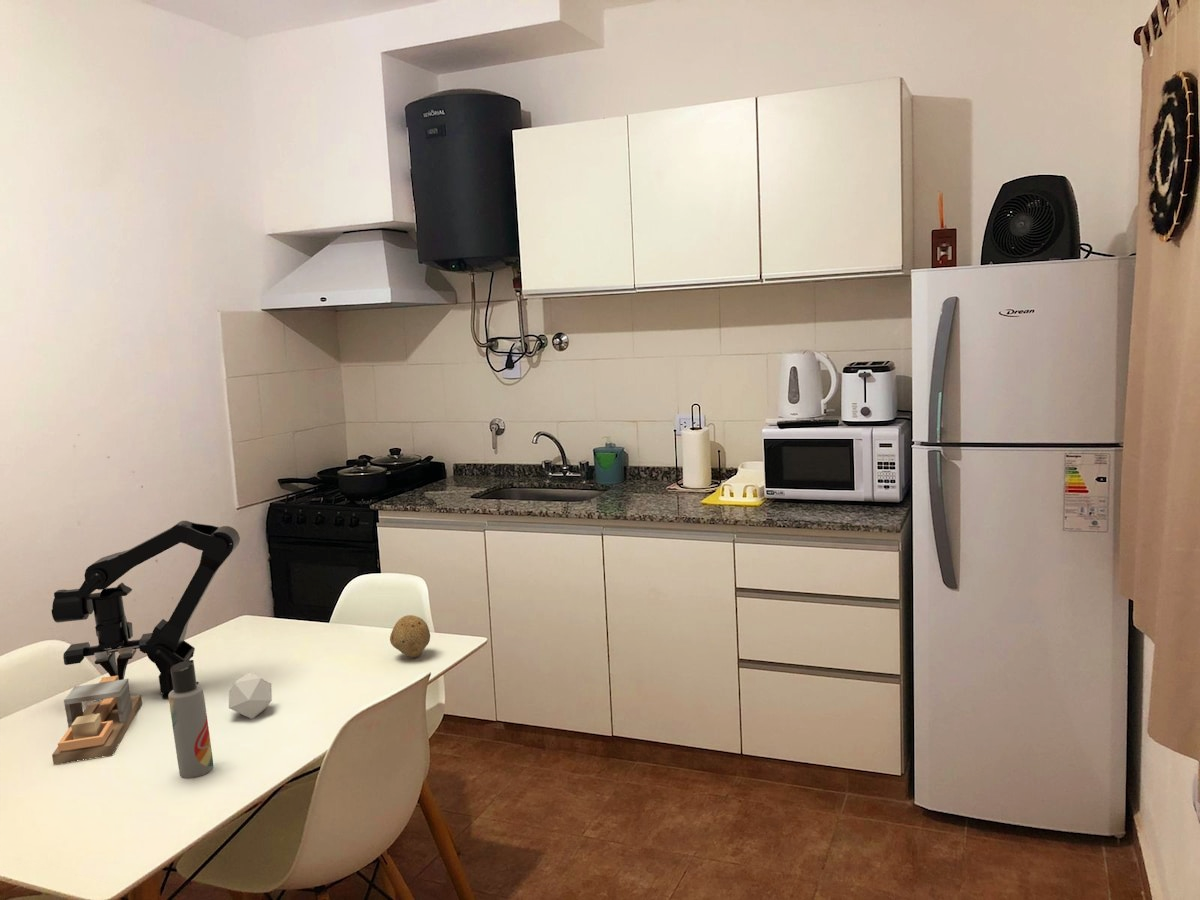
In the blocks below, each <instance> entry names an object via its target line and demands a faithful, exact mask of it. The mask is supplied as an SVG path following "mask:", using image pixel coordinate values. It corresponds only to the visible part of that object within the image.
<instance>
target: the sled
mask: <svg viewBox="0 0 1200 900" xmlns="http://www.w3.org/2000/svg"><path fill="white" fill-rule="evenodd" d="M117 680H119V677H118V675H117V676H110V675H109V676H106V677H105V676H104V677H102V678H101V680H100V681H98V683H103V682H110V681H117ZM100 701H102V702H101V703H100V705H99V706H98V708H97V709H96V711H95V712H94V714H99V713H100V716H101V723H102V729H103V730H102V732H101V733H100V735H99V736H94V737H87V738H81V739H75V740H72V738H73V733H72V727H70V728H68V729H67V730H66V731H65V733H64V734H63V736H62V737H61V738H60V740H59V742H57V747H58V748H59V751H65V750H71V749H77V748H83V747H90V746H96V745H102V744H104V743H105V741H106V740H107V738H108V736H109V735H110V733H111V732H112V730H113V728H114V725H113V720H112V721H105V719H106V717H107V716H108V714H109V713H110V711H111V710H112V708H113V707H114V705H115V704H117V701H116V697H113V698H107V699H100ZM104 721H105V722H104Z"/></svg>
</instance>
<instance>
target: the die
mask: <svg viewBox="0 0 1200 900" xmlns="http://www.w3.org/2000/svg"><path fill="white" fill-rule="evenodd" d="M272 692H273V691H272V683H271V682H269V681H268V680H265V679H264V678H261V677H260V676H257V675H254V674H253V673H250V672H248V673H246V674H245V675H243V676H242V677H240V678H239V679H238V680H237V679H236V681H235V682H233V684H232V686H231V687H230V688H229V691H228V709H230V710H232V711H234V712H236V713H238V714H241V715H243V716H244V717H247V718H249V719H251V720H253V719H255V717H257V716H258V715H259V714H260V713H262V712H263V711H265V710H266V709H267V708H268V706H269V705H270V704H271V702H272V701H273V694H272Z"/></svg>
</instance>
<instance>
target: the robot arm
mask: <svg viewBox="0 0 1200 900" xmlns="http://www.w3.org/2000/svg"><path fill="white" fill-rule="evenodd" d="M240 541H241V538H240V535H239V532H238V531H237V530H236V529H235V527H232V526H228V525H223V526H215V525H210V524H203V523H196V522H191V521H188V520H180V521H178V522H177V523H176V524H174V525H173V526H172V527H170V528H168V529H166V530H164V531H162V532H160V533H157V534H156V535H155V536H153V537H150V538H149V539H147V540H145V541H143V542H141V543H139V544H137V545H135V546H133V547H132V548H129V549H127V550H124V551H123V550H122V551H118V552H115V553H112V554H109V555H107V556H102V557H101V558H99V559H98V560H96V561H95V562H93V563H92V564H90V565H89V566H87V568H86V569H85V571H84V581H83V582H82V584H81V586H80V587H79V588H75V589H58V590H56V591H54V593H53V595H54V596H53V597H54V598H53V601H52V609H51V616H52V619H53V621H54V622H55V623H57V624H59V623H67V622H74V621H76V622H77V621H84V620H85V621H86V620H87V619H88V618H89V617H90V615H92V614H93V616H94V621H95V626H94V627H95V628H94V629H95V634H96V637H97V641H98V645H93V646H91V644H90V642H89V641H88V642H87V641H86V642H81V643H72V644H70V645H69V647H68V648H67V649H66V650H65V651H64V653H63V664H64V665H66V666H68V665H76V664H81V663H82V661H83V660H84V659H85V657H91V656H94V657H95V658H94V659H95V660H94V665H100V666H101V667H102V668H103V669H104V671H106V672H107V674H108V675H109V677H110V676H117V675H118V677H119V680H124V679H125V677H126V671H127V667H128V663H129V660H131V659H133V658H134V656H135V654H136V652H137V649H139V651H140V653H141V652H142V654H146V655H147V657H148V659H149V660H150V661H151V662H153V664H154V665H155V666H156V668H157V670H158V671H159V672H160V673H159V675H158V683H159V688H160V694H162V695H161V697H162V698H161V699H163V700H165V699H169V697H168V695H169V693H170V692H171V691H172V690H173V684H172V677H171V667H172V666H173V665H176V664H178V663H180V662H184V661H190V662H191V663H192V664H194V665H195V662H194V659H192V658H193V657H194V654H195V650H196V648H195V647H194V646H193V645H192V644H190V643H188V642H187V641H186V640H185V639H186V638H185V637H186V635H187V630H188V626H189V623H190V621H191V619H192V617H193V615H194V614H195V612H196V610H197V608H198V606H199V604H200V603H201V601H202V600H203V599H202V598H203V597H204V596H205V594H206V592H207V590H208V588H209V587H210V585H211V583H212V581H213V579H214V577H215V575H216V573H217V572H218V570H219V569H220V568H221V566H223V564H224V563H225V562H226V561H227V559H228V558H229V557H230V556H231V554H232V553H233V552H234V551H235V550H236V548H237V547H238V546H239V545H240ZM180 543H181V544H184V545H187V546H188V547H189V546H190V547H192V548H193V549H197V550H198V551H202V552H201V556H200V559H199V564H198V567H197V569H196V571H195V573H194V574H193V576H192V578H191V579H190V581H189V584H188V585H187V586H186V589H185V591H184V592H183V594H182V596H181V597H180V599H179V601H178V603H177V605H176V607H175V609H174V610H173V611H172V614H171V616H170V617H169V618H168V621H167V620H166V619H164V618H163V619H161V620H160V621H159V622H158V623H157V624H156V625H155V626H154V628H153V630H152V632H149V633H143V634H142V635H141V637H140V638H139V639H133V640H130V639H131V638H133V637H134V633H133V622H131V621H127V615H126V614H125V608H124V607H125V606H124V599H123V597H126V596H128V595H129V594H130V593H131V592H133V589H132V588H131V587H129V586H127V585H126V584H124V582H120V583H119V584H118V585H117V586H115V587H113V586H112V587H110V586H111V585H112V584H113V583H115V582H116V581H118V580H119V579H120V578H121V577H122V576H124V575H125V574H126V573H128V572H129V571H131V570H132V569H133V568H135V567H136V566H139V565H140V564H142V563H144V562H146V561H148V560H149V559H152V558H154V557H156V556H157V555H159V554H162V553H163V552H165V551H167V550H169V549H171V548H173V547H174V546H177V545H179V544H180ZM96 590H98V591H100V590H101V591H100V592H95V591H96ZM93 592H95V593H93ZM117 652H118V657H117V658H116V653H117ZM196 682H197V685H199V681H196Z"/></svg>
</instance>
